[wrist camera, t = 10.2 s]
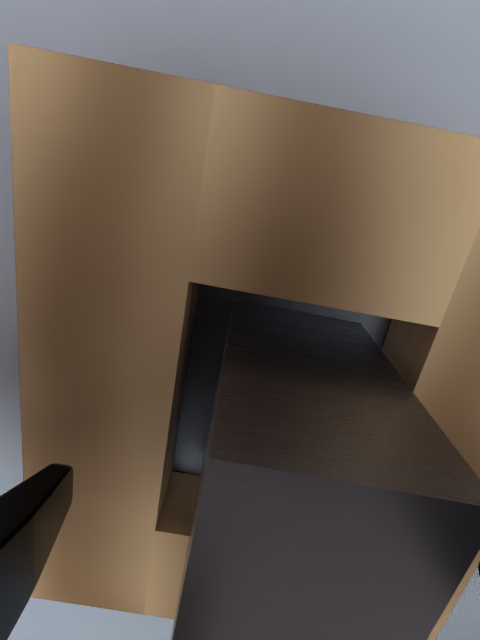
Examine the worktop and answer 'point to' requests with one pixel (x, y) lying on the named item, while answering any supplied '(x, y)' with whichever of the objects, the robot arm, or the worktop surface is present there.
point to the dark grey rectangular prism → (322, 493)
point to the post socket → (210, 281)
